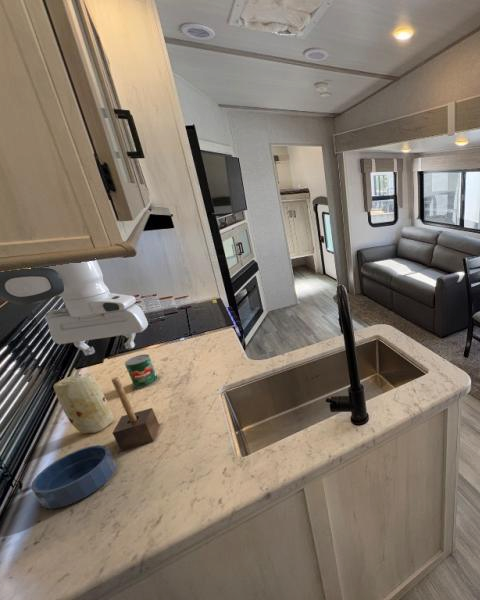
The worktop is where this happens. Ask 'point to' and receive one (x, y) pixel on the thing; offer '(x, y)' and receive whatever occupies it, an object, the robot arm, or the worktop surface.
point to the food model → (84, 403)
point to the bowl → (74, 476)
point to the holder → (136, 429)
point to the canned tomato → (141, 371)
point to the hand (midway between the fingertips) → (110, 350)
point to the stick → (124, 399)
